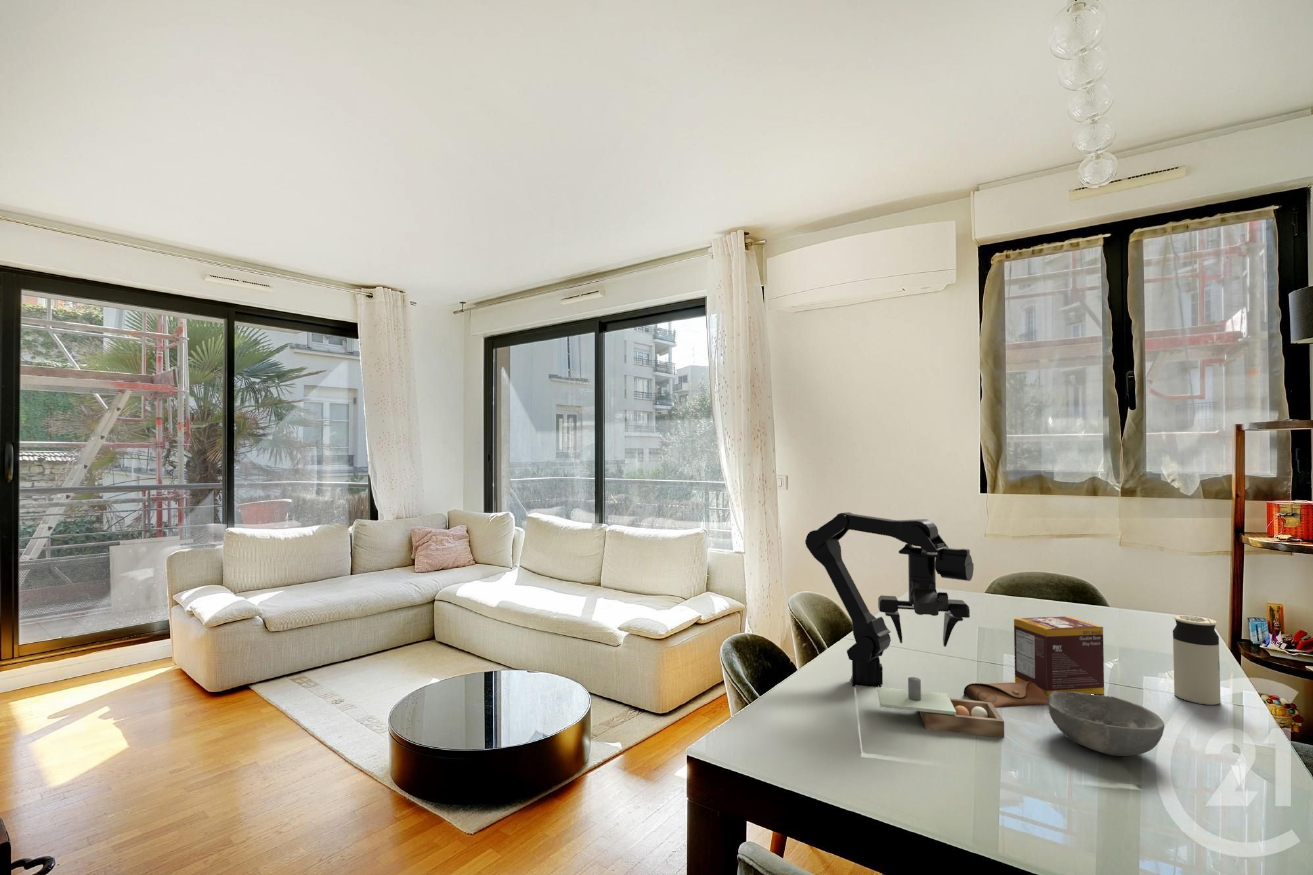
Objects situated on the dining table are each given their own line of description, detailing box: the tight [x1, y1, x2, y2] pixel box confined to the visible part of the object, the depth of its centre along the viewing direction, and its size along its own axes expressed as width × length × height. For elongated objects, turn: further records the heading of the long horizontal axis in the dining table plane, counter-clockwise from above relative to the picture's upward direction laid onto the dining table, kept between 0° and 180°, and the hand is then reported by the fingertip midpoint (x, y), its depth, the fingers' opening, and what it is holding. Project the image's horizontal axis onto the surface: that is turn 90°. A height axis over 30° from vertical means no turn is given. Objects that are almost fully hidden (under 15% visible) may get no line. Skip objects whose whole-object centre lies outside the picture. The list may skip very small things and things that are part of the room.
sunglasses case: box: [963, 681, 1048, 709], centre depth 141 cm, size 18×7×7 cm
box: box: [919, 697, 1005, 738], centre depth 128 cm, size 14×10×4 cm
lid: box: [876, 676, 956, 715], centre depth 130 cm, size 14×10×5 cm
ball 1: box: [955, 706, 969, 716], centre depth 128 cm, size 3×3×3 cm
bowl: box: [1047, 691, 1165, 757], centre depth 118 cm, size 18×18×8 cm
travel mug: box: [1172, 614, 1222, 706], centre depth 143 cm, size 8×8×18 cm
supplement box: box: [1013, 615, 1105, 697], centre depth 150 cm, size 10×15×16 cm
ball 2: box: [971, 707, 988, 718], centre depth 128 cm, size 3×3×3 cm
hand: (922, 644), depth 143 cm, fingers open, 9 cm apart
